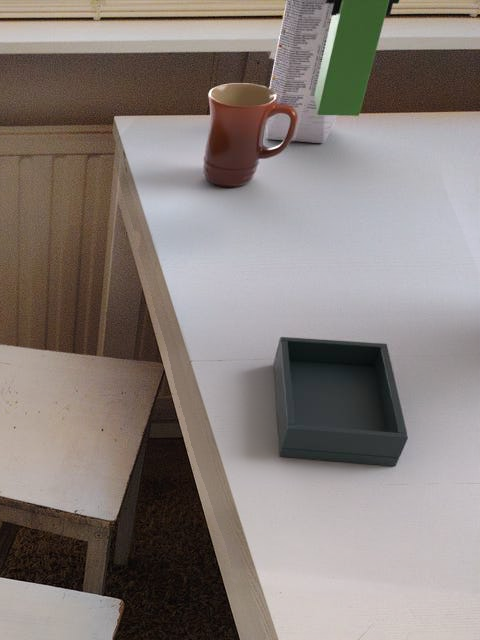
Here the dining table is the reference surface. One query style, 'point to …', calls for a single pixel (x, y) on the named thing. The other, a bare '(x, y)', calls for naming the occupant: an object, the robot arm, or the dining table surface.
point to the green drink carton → (349, 56)
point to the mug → (241, 132)
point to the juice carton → (300, 71)
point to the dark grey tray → (337, 402)
